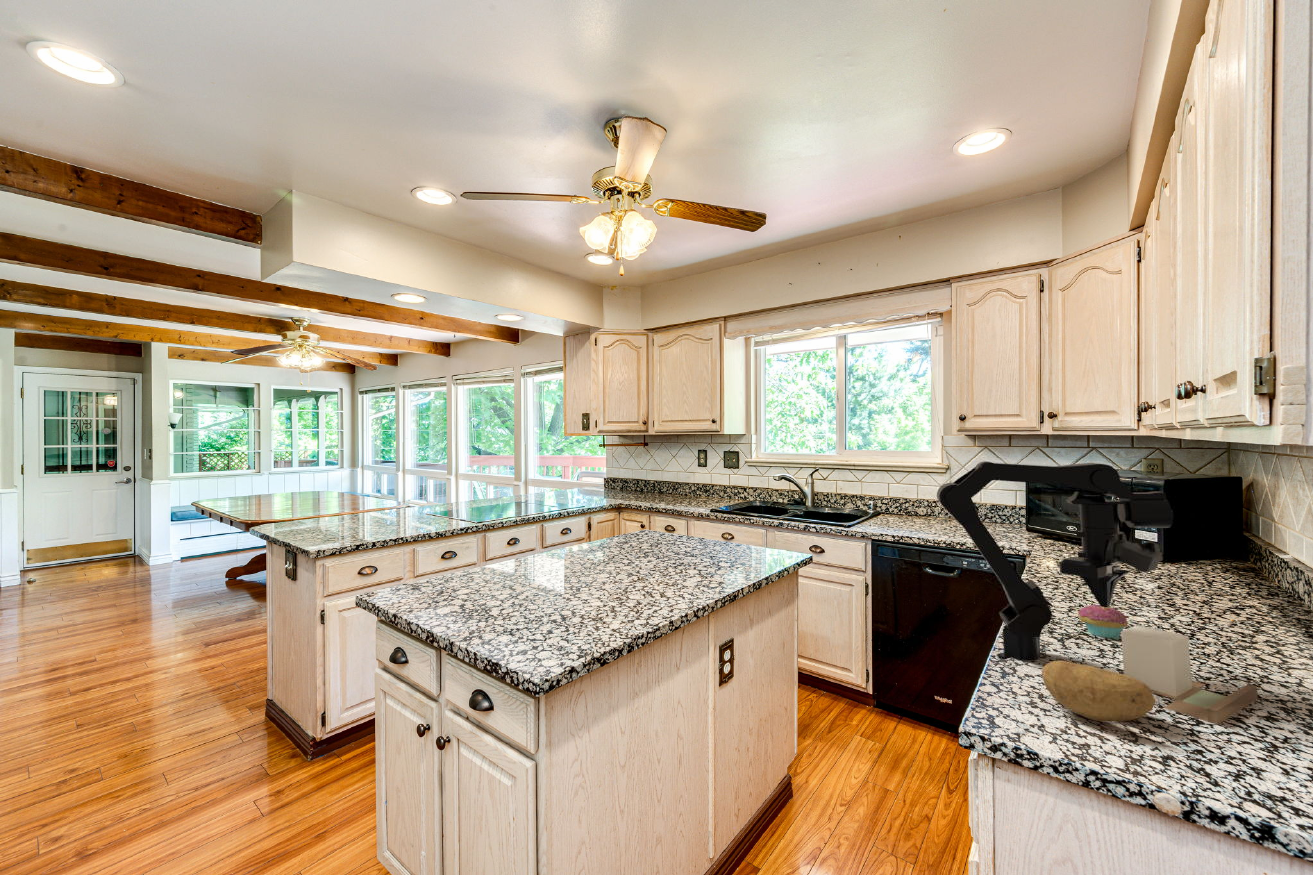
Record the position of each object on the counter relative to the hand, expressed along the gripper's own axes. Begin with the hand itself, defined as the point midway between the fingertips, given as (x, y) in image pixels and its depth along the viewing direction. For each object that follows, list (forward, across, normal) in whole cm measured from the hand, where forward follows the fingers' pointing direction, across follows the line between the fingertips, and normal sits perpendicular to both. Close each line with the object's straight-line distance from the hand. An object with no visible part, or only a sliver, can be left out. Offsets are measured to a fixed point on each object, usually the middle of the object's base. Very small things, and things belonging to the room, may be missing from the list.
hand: (1104, 606), depth 102 cm
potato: (+12, -23, -8) cm, 27 cm away
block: (+11, -4, -9) cm, 15 cm away
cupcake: (+12, +18, +8) cm, 23 cm away
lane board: (+12, -5, -11) cm, 17 cm away
